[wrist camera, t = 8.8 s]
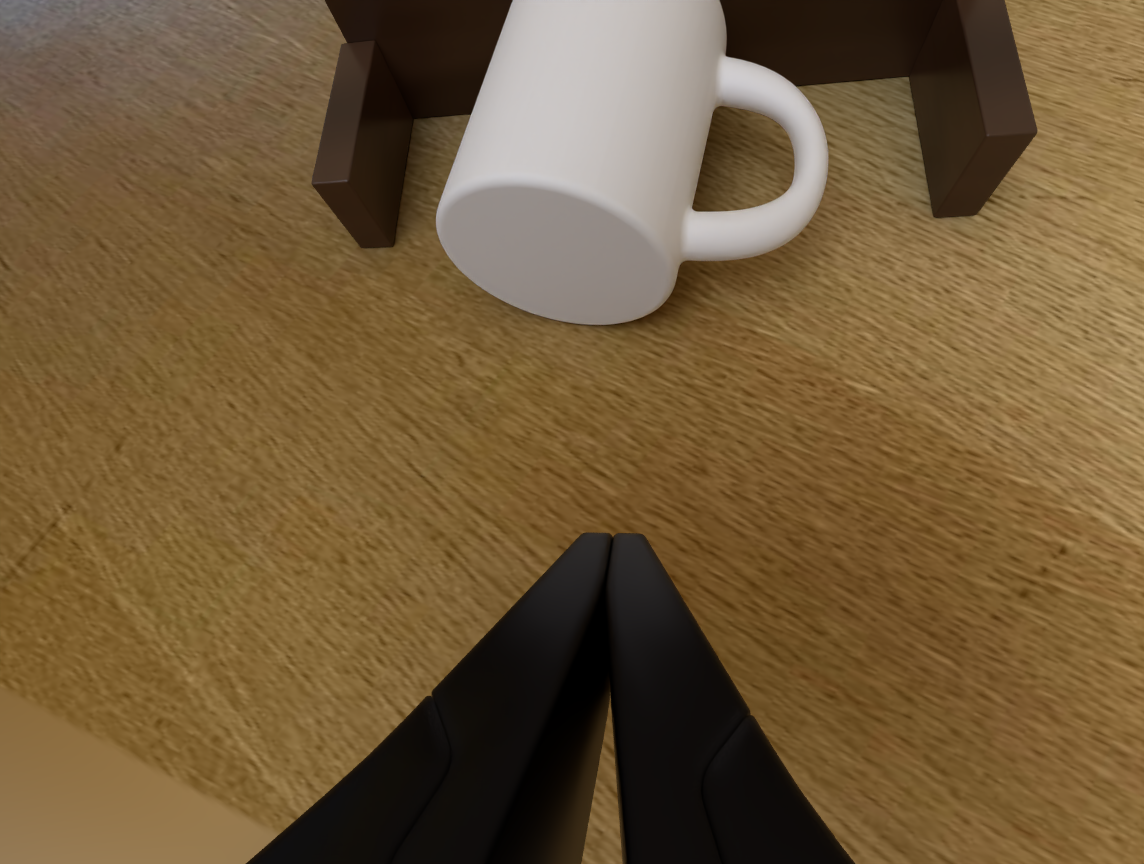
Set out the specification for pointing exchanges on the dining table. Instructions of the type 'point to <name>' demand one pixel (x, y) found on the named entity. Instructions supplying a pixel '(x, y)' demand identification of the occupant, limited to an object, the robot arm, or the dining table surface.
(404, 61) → the shelf
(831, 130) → the dining table surface
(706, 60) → the mug
